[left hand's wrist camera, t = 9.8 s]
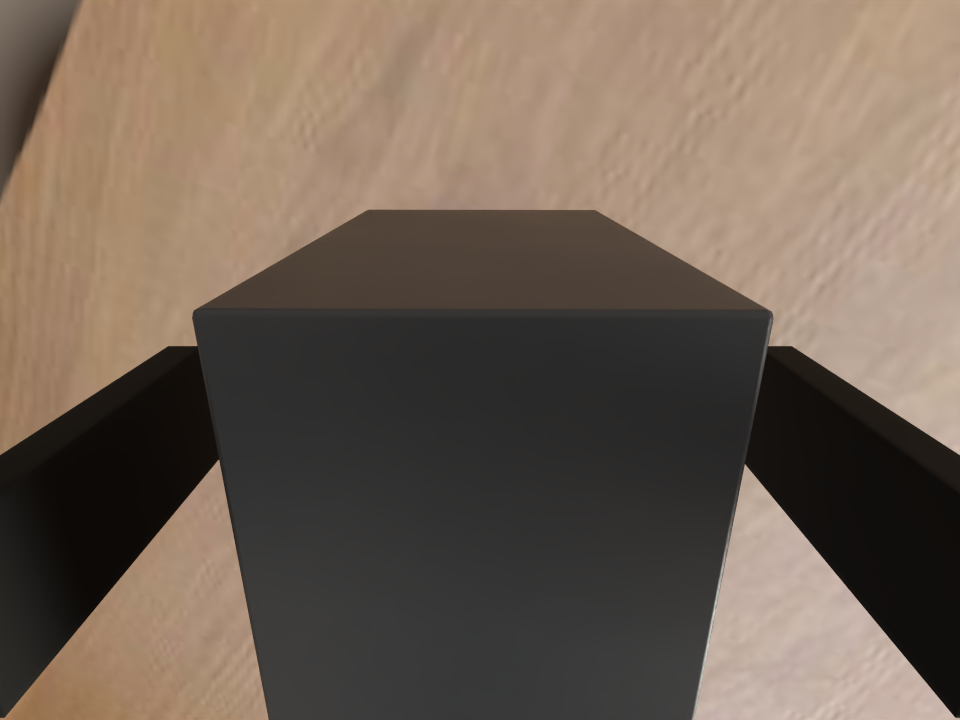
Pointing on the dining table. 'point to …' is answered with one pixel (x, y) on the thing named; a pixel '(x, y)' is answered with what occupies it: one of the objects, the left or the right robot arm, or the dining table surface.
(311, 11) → the dining table surface
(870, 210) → the dining table surface
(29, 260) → the dining table surface
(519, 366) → the bar
